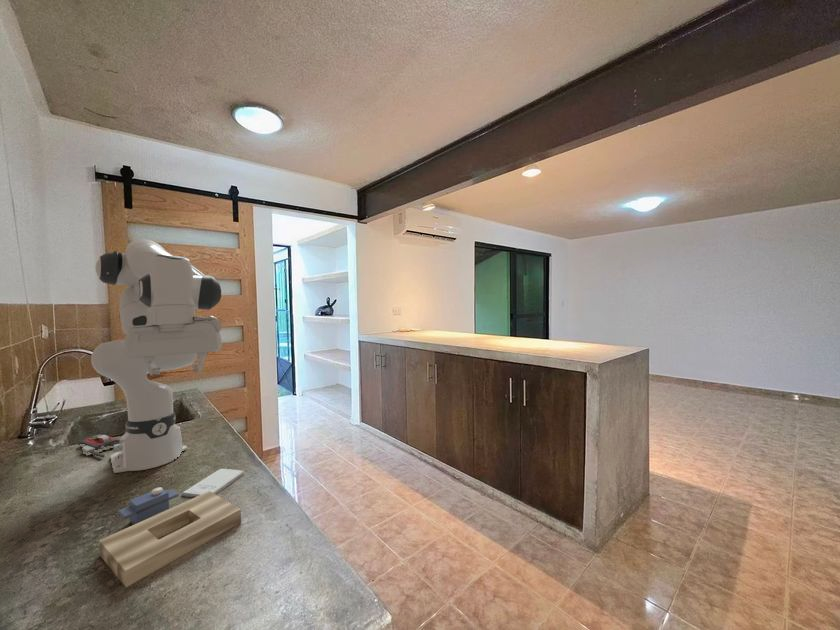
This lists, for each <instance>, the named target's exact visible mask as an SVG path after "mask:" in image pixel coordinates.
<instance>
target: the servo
mask: <svg viewBox="0 0 840 630" xmlns="http://www.w3.org/2000/svg"><path fill="white" fill-rule="evenodd" d="M179 495H180V494H179V492H177V491H175V490H173V489H172V488H170V489H167V490H166V489H164V488H163V487H156V488H154V489H152V490H151V491H149V492H147V493H144V494H142V495H139V496H136V497H134V498H132V499H129V505H127V506H126V507H123V508H121V509H119V510H118V511H117V514H119V516H121V517H122V518H123V520H127V519H129V522H130V523H131V524H132V525H135V524H137V523H139V522H141V521H144V520H146V519H148V518H150V517H152V516H155V515H157V514H159V513H161V512H164V511H166V510H168V509H170V500H173V499H175V498H178V497H179Z"/></svg>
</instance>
